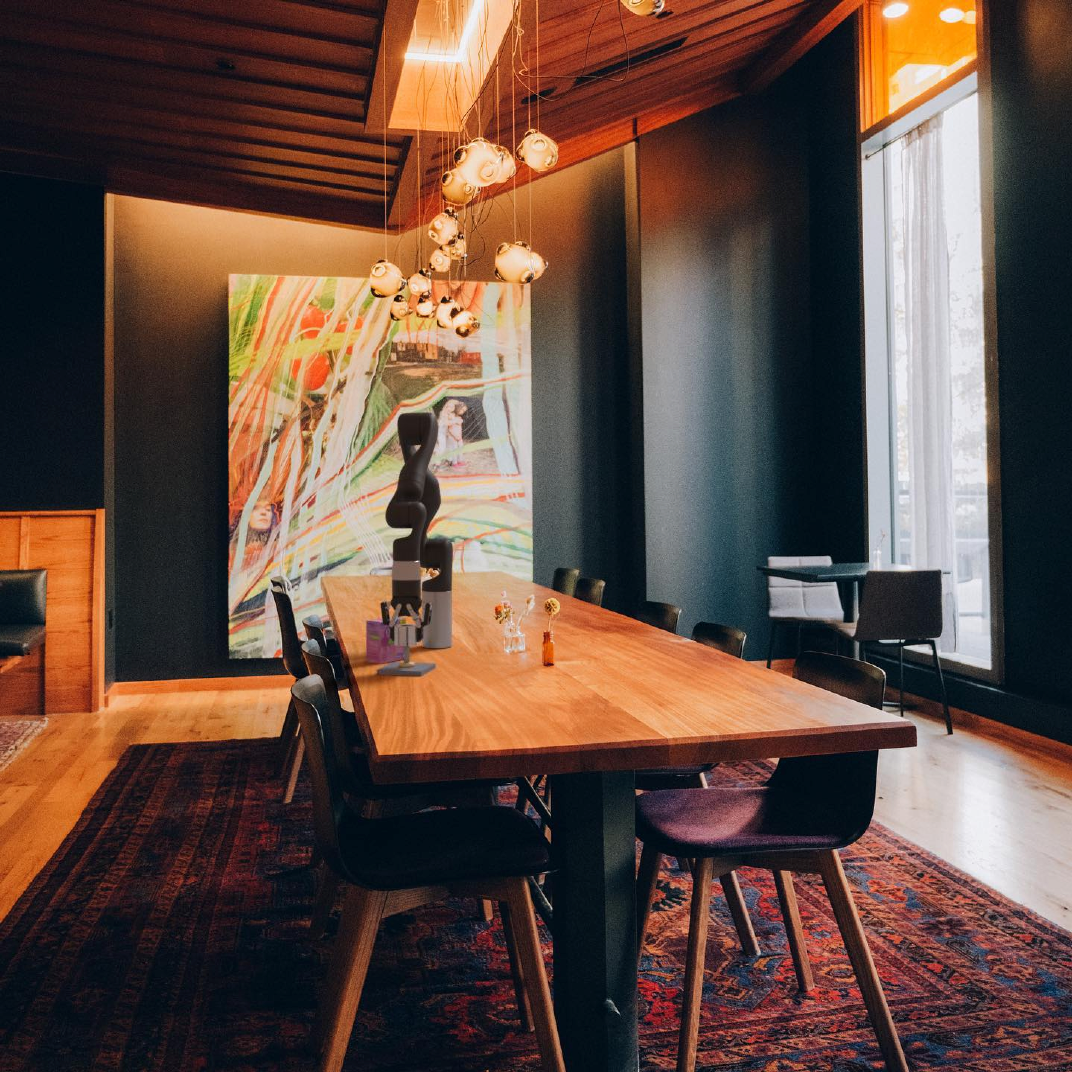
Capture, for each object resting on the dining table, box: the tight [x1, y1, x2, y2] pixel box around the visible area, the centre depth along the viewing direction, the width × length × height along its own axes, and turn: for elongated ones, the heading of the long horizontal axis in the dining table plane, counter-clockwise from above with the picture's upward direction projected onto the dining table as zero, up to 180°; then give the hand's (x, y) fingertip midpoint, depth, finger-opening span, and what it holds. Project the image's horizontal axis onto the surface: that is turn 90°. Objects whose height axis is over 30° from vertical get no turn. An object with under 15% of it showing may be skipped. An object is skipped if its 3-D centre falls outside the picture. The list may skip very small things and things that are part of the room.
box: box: [365, 616, 407, 665], centre depth 260 cm, size 10×6×12 cm, turn 143°
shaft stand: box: [376, 646, 437, 677], centre depth 244 cm, size 12×12×7 cm
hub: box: [394, 623, 420, 647], centre depth 244 cm, size 6×6×5 cm
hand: (406, 641), depth 244 cm, fingers closed on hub, 6 cm apart
